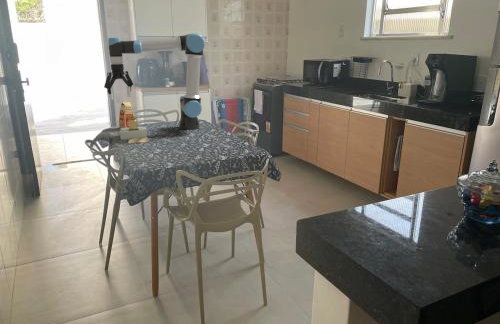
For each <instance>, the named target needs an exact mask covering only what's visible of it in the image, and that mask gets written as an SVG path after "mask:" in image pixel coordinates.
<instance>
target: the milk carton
mask: <svg viewBox="0 0 500 324" xmlns="http://www.w3.org/2000/svg"><path fill="white" fill-rule="evenodd" d="M121 102H122V103H121V104H120V108H119V118H118V129H119V128H120V129H119V130H121V128H130V127H129V117H135V114H134V110H133V107H132V104H131V101H124V100H123V101H121Z"/></svg>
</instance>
